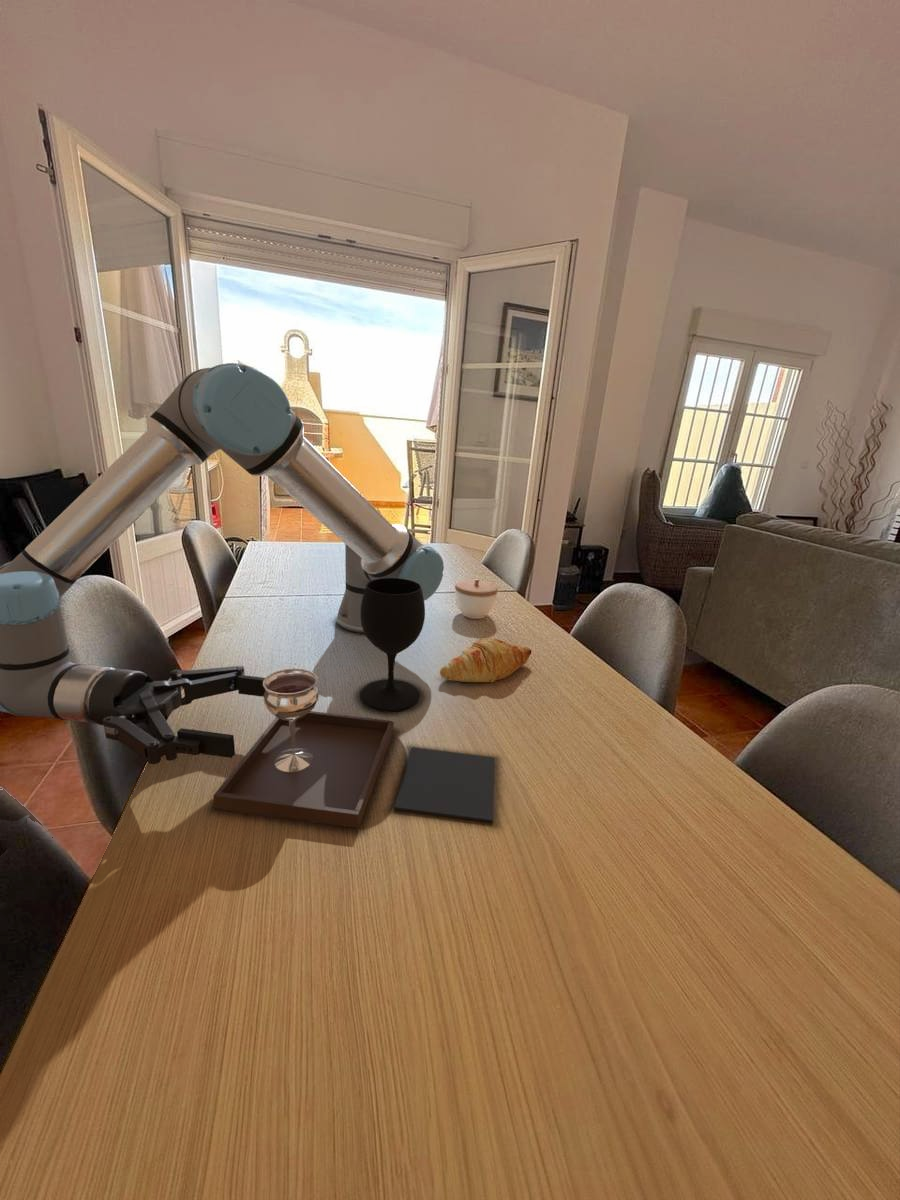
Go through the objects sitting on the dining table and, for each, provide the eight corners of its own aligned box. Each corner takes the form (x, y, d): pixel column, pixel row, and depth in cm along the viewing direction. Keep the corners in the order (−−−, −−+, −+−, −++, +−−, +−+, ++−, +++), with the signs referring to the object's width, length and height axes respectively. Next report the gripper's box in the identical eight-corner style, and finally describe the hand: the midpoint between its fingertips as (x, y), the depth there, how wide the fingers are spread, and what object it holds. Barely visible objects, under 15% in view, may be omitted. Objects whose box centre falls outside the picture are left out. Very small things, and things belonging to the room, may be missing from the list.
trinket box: (496, 623, 119) (500, 587, 116) (452, 620, 119) (455, 584, 116) (492, 608, 129) (496, 575, 126) (453, 605, 129) (455, 572, 126)
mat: (411, 749, 70) (411, 747, 70) (493, 759, 69) (494, 757, 69) (393, 809, 58) (394, 807, 58) (492, 822, 58) (492, 820, 57)
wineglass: (255, 764, 63) (249, 684, 60) (293, 738, 69) (290, 663, 65) (294, 783, 61) (291, 700, 57) (330, 754, 66) (329, 677, 63)
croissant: (447, 706, 88) (461, 681, 82) (424, 662, 93) (435, 636, 88) (534, 679, 99) (551, 656, 93) (509, 642, 104) (524, 617, 99)
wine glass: (412, 716, 78) (418, 599, 71) (350, 707, 79) (351, 591, 72) (425, 685, 87) (432, 580, 81) (370, 677, 89) (372, 573, 82)
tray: (284, 718, 75) (283, 707, 74) (393, 732, 73) (393, 720, 73) (214, 809, 56) (213, 795, 56) (358, 828, 55) (358, 814, 55)
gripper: (171, 677, 78) (298, 692, 76) (27, 781, 54) (207, 806, 53) (165, 634, 75) (297, 649, 74) (12, 724, 52) (201, 749, 50)
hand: (260, 715), depth 63 cm, fingers open, 13 cm apart
